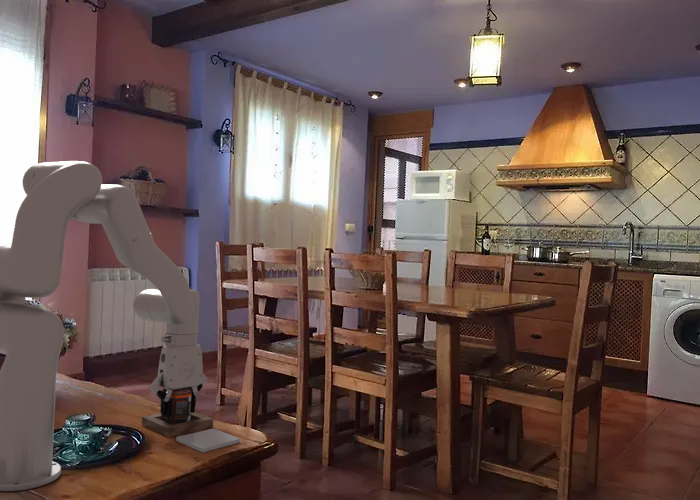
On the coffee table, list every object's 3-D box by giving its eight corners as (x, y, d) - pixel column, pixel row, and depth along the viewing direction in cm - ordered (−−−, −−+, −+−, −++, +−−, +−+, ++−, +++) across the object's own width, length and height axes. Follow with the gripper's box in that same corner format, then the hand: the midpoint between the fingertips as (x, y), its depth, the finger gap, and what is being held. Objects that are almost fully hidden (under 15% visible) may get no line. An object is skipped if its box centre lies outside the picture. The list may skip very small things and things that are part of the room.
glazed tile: (202, 452, 124) (202, 448, 124) (176, 440, 131) (176, 437, 131) (239, 442, 132) (239, 438, 132) (213, 431, 139) (213, 428, 139)
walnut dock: (168, 437, 133) (169, 428, 133) (141, 425, 141) (142, 416, 141) (212, 427, 142) (213, 418, 142) (184, 416, 150) (185, 408, 150)
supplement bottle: (195, 425, 142) (197, 379, 142) (176, 431, 137) (178, 383, 137) (178, 421, 146) (180, 375, 146) (159, 426, 141) (161, 379, 141)
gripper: (157, 345, 133) (153, 424, 133) (220, 339, 146) (216, 411, 146) (140, 340, 137) (137, 417, 137) (202, 335, 150) (199, 404, 150)
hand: (178, 413), depth 141 cm, fingers closed on supplement bottle, 6 cm apart
